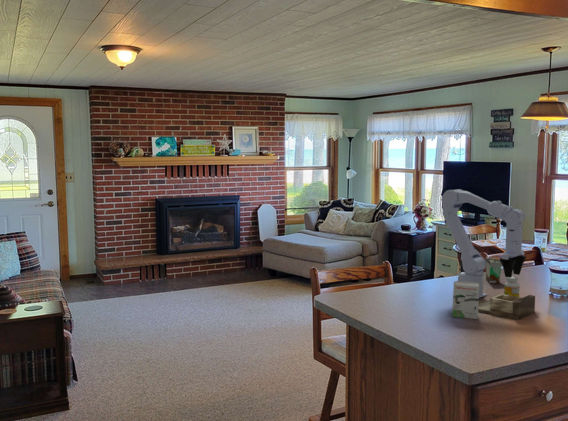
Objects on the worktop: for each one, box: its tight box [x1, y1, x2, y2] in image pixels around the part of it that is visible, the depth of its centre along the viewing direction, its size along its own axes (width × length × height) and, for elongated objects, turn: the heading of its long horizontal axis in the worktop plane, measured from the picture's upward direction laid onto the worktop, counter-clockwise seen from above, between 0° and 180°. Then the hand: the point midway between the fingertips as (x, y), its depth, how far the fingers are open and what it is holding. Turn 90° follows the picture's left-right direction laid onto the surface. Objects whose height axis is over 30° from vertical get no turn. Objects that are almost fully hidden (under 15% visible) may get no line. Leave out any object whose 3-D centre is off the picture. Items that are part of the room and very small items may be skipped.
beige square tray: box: [489, 293, 522, 314], centre depth 198 cm, size 9×9×4 cm
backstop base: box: [478, 294, 536, 321], centre depth 200 cm, size 19×14×6 cm
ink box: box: [451, 280, 480, 320], centre depth 192 cm, size 9×5×12 cm, turn 73°
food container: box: [485, 257, 503, 285], centre depth 246 cm, size 12×6×10 cm, turn 168°
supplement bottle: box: [503, 275, 521, 297], centre depth 211 cm, size 5×5×10 cm
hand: (512, 275), depth 211 cm, fingers open, 7 cm apart
